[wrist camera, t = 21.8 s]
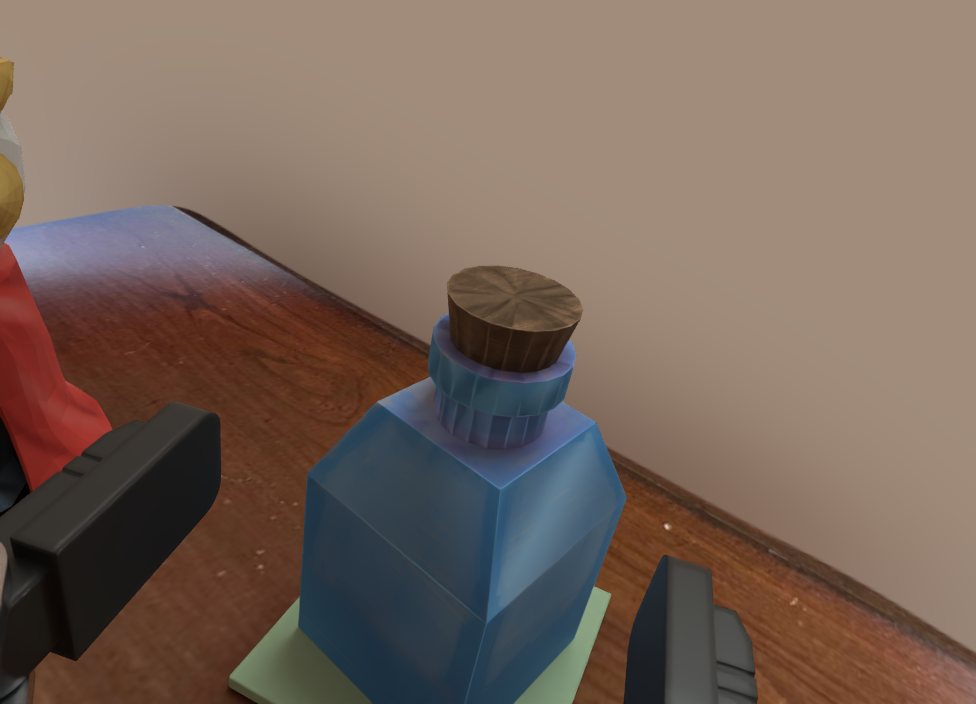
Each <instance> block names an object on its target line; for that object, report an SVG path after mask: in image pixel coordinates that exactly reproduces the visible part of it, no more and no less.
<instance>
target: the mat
mask: <svg viewBox="0 0 976 704" xmlns="http://www.w3.org/2000/svg"><path fill="white" fill-rule="evenodd" d="M610 598H611V594H610V593H607V592H605V591H603V590H601V589H599V588H597V587H593V590H592V592H591V595H590V598H589V600H588V603H587V606H586V608H585V611H584V614H583V616H582V619H581V622H580V624H579V627H578V630H577V632H576V635H575V638H574V639H573V640H572V641H571V643H570V644H569V645H568V646H567V647H566V648H565V649H564V650H563V651H562V652H561V653H560V654H559V655H558V656H557V658H556V659H555V660H554V661H553V662H552V663H551V664H550V665H549V666H548V667H547V668H546V669H545V670H544V671H543V673H542V674H541V675H540V676H539V677H538V678H537V679H536V680H535V681H534V682H533V683H532V684H531V685H530V686H529V688H528V689H527V690H526V691H525V692H524V693H523V694H522V695H521V696H520V697H519V698H518V699H517V700H516V702H515V703H514V704H572V703H573V700H574V698H575V695H576V692H577V689H578V686H579V684H580V681H581V678H582V675H583V673H584V670H585V667H586V664H587V661H588V659H589V656H590V653H591V650H592V648H593V645H594V642H595V639H596V637H597V634H598V631H599V628H600V625H601V623H602V620H603V617H604V614H605V612H606V609H607V606H608V603H609V600H610ZM299 604H300V597H299V598H298V599H297V600H296V601H295V602H294V603H293V605H292V606H291V607H290V608H289V609H288V610H287V611H286V612H285V614H284V615H283V616H282V617H281V618H280V619H279V620H278V622H277V623H276V624H275V625H274V626H273V627H272V628H271V629H270V631H269V632H268V633H267V634H266V635H265V636H264V637H263V638H262V640H261V641H260V642H259V643H258V644H257V645H256V646H255V648H254V649H253V650H252V651H251V652H250V653H249V654H248V655H247V657H246V658H245V659H244V660H243V661H242V662H241V663H240V665H239V666H238V667H237V668H236V669H235V670H234V671H233V672H232V674H231V675H230V676H229V687H230V688H232V689H234V690H235V691H237V692H239V693H240V694H242V695H244V696H246V697H247V698H249V699H251V700H252V701H254V702H256V703H258V704H373V703H372V702H371V701H370V700H369V699H368V698H367V697H366V696H365V695H364V694H363V693H362V692H361V691H360V690H359V689H358V688H357V687H356V686H355V685H354V684H353V683H352V682H351V681H350V679H349V678H348V677H347V676H346V675H345V674H344V673H343V672H342V671H341V670H340V669H339V668H338V667H337V666H336V665H335V664H334V663H333V662H332V661H331V660H330V659H329V658H328V657H327V656H326V655H325V654H324V653H323V652H322V651H321V650H320V649H319V648H318V647H317V646H316V645H315V644H314V643H313V642H312V641H311V639H310V638H309V637H308V636H307V635H306V634H305V633H304V632H303V631H302V630H301V629H300V628H299V627H298V620H299Z"/></svg>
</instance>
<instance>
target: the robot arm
mask: <svg viewBox="0 0 976 704" xmlns="http://www.w3.org/2000/svg"><path fill="white" fill-rule="evenodd" d="M220 482H221V449H220V420H219V417H218V415H217V414H215V413H213V412H210V411H206V410H203V409H200V408H197V407H194V406H190V405H187V404H184V403H181V402H176V401H175V402H172V403H170V404H168V405H167V406H165V407H164V408H163V409H162V410H161V411H159V412H158V413H157V414H156V415H155V416H153V417H152V418H151V419H150V420H149V421H148V422H146V423H145V422H142V421H139V420H135V421H133V422H130V423H128V424H126V425H123V426H121V427H119V428H116V429H114V430H111V431H109V432H107V433H105V434H104V435H102V436H101V437H100V438H99V439H97V440H96V441H95V442H94V443H92V444H91V445H90V446H89V447H87V448H86V449H85V450H84V451H82V454H81V456H76V457H75V458H74V459H72V460H71V461H70V462H69V463H67V464H66V465H65V466H64V467H63V469H62V471H61V472H58V471H57V472H56V473H55V474H54V475H52V476H51V477H50V478H49V479H47V480H46V481H45V482H44V483H42V484H41V485H40V486H39V487H37V488H36V489H35V490H33V491H32V492H31V493H30V494H28V495H27V496H26V497H25V498H23V499H22V500H21V501H20V502H18V503H17V504H16V505H15V506H13V507H12V508H11V509H10V510H8V511H7V512H6V513H5V514H3V515H2V516H1V517H0V704H33V695H34V685H35V671H34V668H35V667H36V666H37V665H38V664H39V663H40V662H41V661H42V660H43V659H44V658H45V657H46V656H47V654H48V653H49V652H52V653H55V654H58V655H60V656H63V657H66V658H69V659H71V660H74V661H77V660H78V659H79V658H80V656H81V655H82V654H83V653H84V652H85V651H86V650H87V648H88V647H89V646H90V645H91V644H92V643H93V642H94V640H95V639H96V638H97V637H98V636H99V635H100V634H101V633H102V631H103V630H104V629H105V628H106V627H107V626H108V625H109V623H110V622H111V621H112V620H113V619H114V618H115V617H116V615H117V614H118V613H119V612H120V611H121V610H122V609H123V608H124V606H125V605H126V604H127V603H128V602H129V601H130V600H131V598H132V597H133V596H134V595H135V594H136V593H137V592H138V590H139V589H140V588H141V587H142V586H143V585H144V584H145V583H146V581H147V580H148V579H149V578H150V577H151V576H152V575H153V573H154V572H155V571H156V570H157V569H158V568H159V567H160V565H161V564H162V563H163V562H164V561H165V560H166V559H167V558H168V556H169V555H170V554H171V553H172V552H173V551H174V550H175V548H176V547H177V546H178V545H179V544H180V543H181V542H182V540H183V539H184V538H185V537H186V536H187V535H188V534H189V533H190V531H191V530H192V529H193V528H194V527H195V526H196V525H197V523H198V522H199V521H200V520H201V519H202V518H203V517H204V515H205V514H206V513H207V512H208V511H209V509H210V508H211V506H212V504H213V503H214V500H215V498H216V496H217V494H218V490H219V487H220ZM754 675H755V667H754V658H753V648H752V641H751V639H750V637H749V635H748V634H747V632H746V630H745V628H744V626H743V624H742V622H741V620H740V618H739V616H738V614H737V612H736V611H734V610H731V609H728V608H725V607H721V606H718V605H715V604H713V586H712V574H711V570H710V569H709V568H707V567H703V566H700V565H697V564H694V563H690V562H687V561H684V560H681V559H678V558H674V557H671V556H668V555H664V556H663V557H662V559H661V560H660V562H659V564H658V567H657V569H656V571H655V574H654V576H653V578H652V580H651V583H650V585H649V587H648V590H647V592H646V594H645V596H644V599H643V601H642V603H641V606H640V608H639V610H638V613H637V615H636V618H635V621H634V624H633V628H632V631H631V636H630V641H629V647H628V655H627V668H626V681H625V694H624V704H757V699H758V695H757V686H756V679H754Z"/></svg>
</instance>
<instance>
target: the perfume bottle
mask: <svg viewBox="0 0 976 704" xmlns="http://www.w3.org/2000/svg"><path fill="white" fill-rule="evenodd" d="M447 288H448V305H449V313H448V314H446V315H444V316H443V317H441V318H440V319H439V320H438V322H437V323H436V325H435V327H434V329H433V335H432V341H431V347H430V353H429V360H428V372H429V375H430V377H429V378H427V379H425V380H423V381H421V382H418V383H416V384H414V385H412V386H410V387H408V388H406V389H403V390H401V391H399V392H397V393H395V394H393V395H390V396H388V397H386V398H384V399H382V400H380V401H377V402H376V403H375V404H374V405H373V406H372V407H371V408H370V409H369V410H368V411H367V413H366V414H365V415H364V416H363V417H362V418H361V419H360V420H359V421H358V422H357V423H356V424H355V425H354V426H353V427H352V428H351V429H350V430H349V431H348V432H347V433H346V434H345V435H344V436H343V437H342V438H341V439H340V440H339V441H338V442H337V443H336V444H335V445H334V446H333V447H332V448H331V449H330V450H329V451H328V453H327V454H326V455H325V456H324V457H323V458H322V459H321V460H320V461H319V462H318V463H317V464H316V465H315V466H314V467H313V468H312V469H311V470H310V471H309V472H308V473H307V488H306V505H305V521H304V538H303V554H302V571H301V587H300V604H299V620H298V627H299V628H300V629H301V630H302V631H303V632H304V633H305V634H306V635H307V636H308V637H309V638H310V639H311V641H312V642H313V643H314V644H315V645H316V646H317V647H318V648H319V649H320V650H321V651H322V652H323V653H324V654H325V655H326V656H327V657H328V658H329V659H330V660H331V661H332V662H333V663H334V664H335V665H336V666H337V667H338V668H339V669H340V670H341V671H342V672H343V673H344V674H345V675H346V676H347V677H348V678H349V679H350V681H351V682H352V683H353V684H354V685H355V686H356V687H357V688H358V689H359V690H360V691H361V692H362V693H363V694H364V695H365V696H366V697H367V698H368V699H369V700H370V701H371V702H372V703H373V704H514V703H515V702H516V700H517V699H518V698H519V697H520V696H521V695H522V694H523V693H524V692H525V691H526V690H527V689H528V688H529V686H530V685H531V684H532V683H533V682H534V681H535V680H536V679H537V678H538V677H539V676H540V675H541V674H542V673H543V671H544V670H545V669H546V668H547V667H548V666H549V665H550V664H551V663H552V662H553V661H554V660H555V659H556V658H557V656H558V655H559V654H560V653H561V652H562V651H563V650H564V649H565V648H566V647H567V646H568V645H569V644H570V643H571V641H572V640H573V639H574V638H575V635H576V632H577V630H578V627H579V624H580V622H581V619H582V616H583V614H584V611H585V608H586V606H587V603H588V600H589V598H590V595H591V592H592V590H593V587H594V584H595V582H596V579H597V576H598V574H599V571H600V568H601V566H602V563H603V560H604V558H605V555H606V552H607V550H608V547H609V544H610V542H611V539H612V536H613V534H614V531H615V528H616V526H617V523H618V520H619V518H620V515H621V512H622V510H623V507H624V504H625V502H626V499H627V497H626V494H625V492H624V490H623V487H622V485H621V482H620V480H619V477H618V475H617V472H616V470H615V467H614V465H613V463H612V460H611V458H610V455H609V453H608V450H607V448H606V445H605V443H604V441H603V438H602V436H601V433H600V431H599V428H598V426H597V423H596V422H594V421H593V420H591V419H589V418H588V417H586V416H584V415H583V414H581V413H579V412H578V411H576V410H574V409H573V408H571V407H569V406H568V405H566V404H564V403H563V402H562V401H563V400H564V398H565V395H566V391H567V388H568V384H569V381H570V377H571V374H572V370H573V367H574V362H575V359H576V353H575V350H574V347H573V344H572V343H571V342H570V341H569V338H570V337H571V335H572V333H573V331H574V329H575V328H576V326H577V324H578V322H579V321H580V319H581V315H582V311H583V308H582V305H581V303H580V301H579V299H578V298H577V297H576V296H575V295H574V294H573V293H572V292H571V291H570V290H569V289H567V288H566V287H564V286H563V285H561V284H559V283H558V282H556V281H555V280H552V279H550V278H547V277H545V276H542V275H540V274H537V273H534V272H530V271H526V270H522V269H518V268H512V267H503V266H477V267H472V268H467V269H463V270H461V271H459V272H457V273H455V274H453V275H452V277H451V278H450V279H449V281H448V282H447Z"/></svg>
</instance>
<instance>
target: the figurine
mask: <svg viewBox="0 0 976 704" xmlns="http://www.w3.org/2000/svg"><path fill="white" fill-rule="evenodd" d="M13 66H14V63H13V62H11V61H9V60H6V59H3V58H0V513H1V512H2V511H4V510H6V509H8V508H10V507H12V505H13V504H14V502H15V500H16V499H17V497H18V495H19V494H20V492H21V490H22V489H23V487H24V485H25V484H26V482H27V483H28V486H29V489H30V492H32V491H33V490H35V489H36V488H37V487H39V486H40V485H41V484H42V483H44V482H45V481H46V480H47V479H49V478H50V477H51V476H52V475H54V474H55V473H56V472H57V471H58V472H61V471H62V469H63V467H64V466H65V465H66V464H67V463H69V462H70V461H71V460H72V459H74V458H75V457H76V456H81V454H82V451H84V450H85V449H86V448H87V447H89V446H90V445H91V444H92V443H94V442H95V441H96V440H97V439H99V438H100V437H101V436H102V435H104V434H105V433H107V432H109V431H111V430H112V428H111V425H110V423H109V421H108V419H107V418H106V416H105V414H104V413H103V411H102V409H101V407H100V406H99V404H98V402H97V401H96V400H95V399H93V398H92V397H90V396H89V395H87V394H86V393H84V392H83V391H81V390H80V389H78V388H77V387H75V386H74V385H72V384H71V383H69V382H67V381H65V380H64V377H63V375H62V372H61V369H60V367H59V363H58V360H57V357H56V354H55V350H54V347H53V344H52V341H51V338H50V335H49V333H48V331H47V329H46V326H45V324H44V322H43V320H42V318H41V315H40V313H39V311H38V309H37V306H36V304H35V302H34V300H33V298H32V295H31V293H30V291H29V289H28V286H27V284H26V281H25V279H24V277H23V274H22V272H21V270H20V267H19V265H18V262H17V260H16V258H15V256H14V254H13V252H12V250H11V249H10V247H9V245H7V244H5V243H4V241H5V240H6V238H7V236H8V235H9V233H10V231H11V230H12V228H13V227H14V225H15V223H16V222H17V220H18V219H19V216H20V212H21V209H22V205H23V201H24V191H25V180H24V172H23V161H22V152H21V146H20V144H19V142H18V140H17V138H16V136H15V133H14V131H13V129H12V127H11V125H10V123H9V120H8V118H7V116H6V114H5V113H4V112H3V111H2V109H3V107H4V105H5V103H6V101H7V99H8V97H9V96H10V95H11V94H12V90H13V89H12V88H13Z"/></svg>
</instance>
